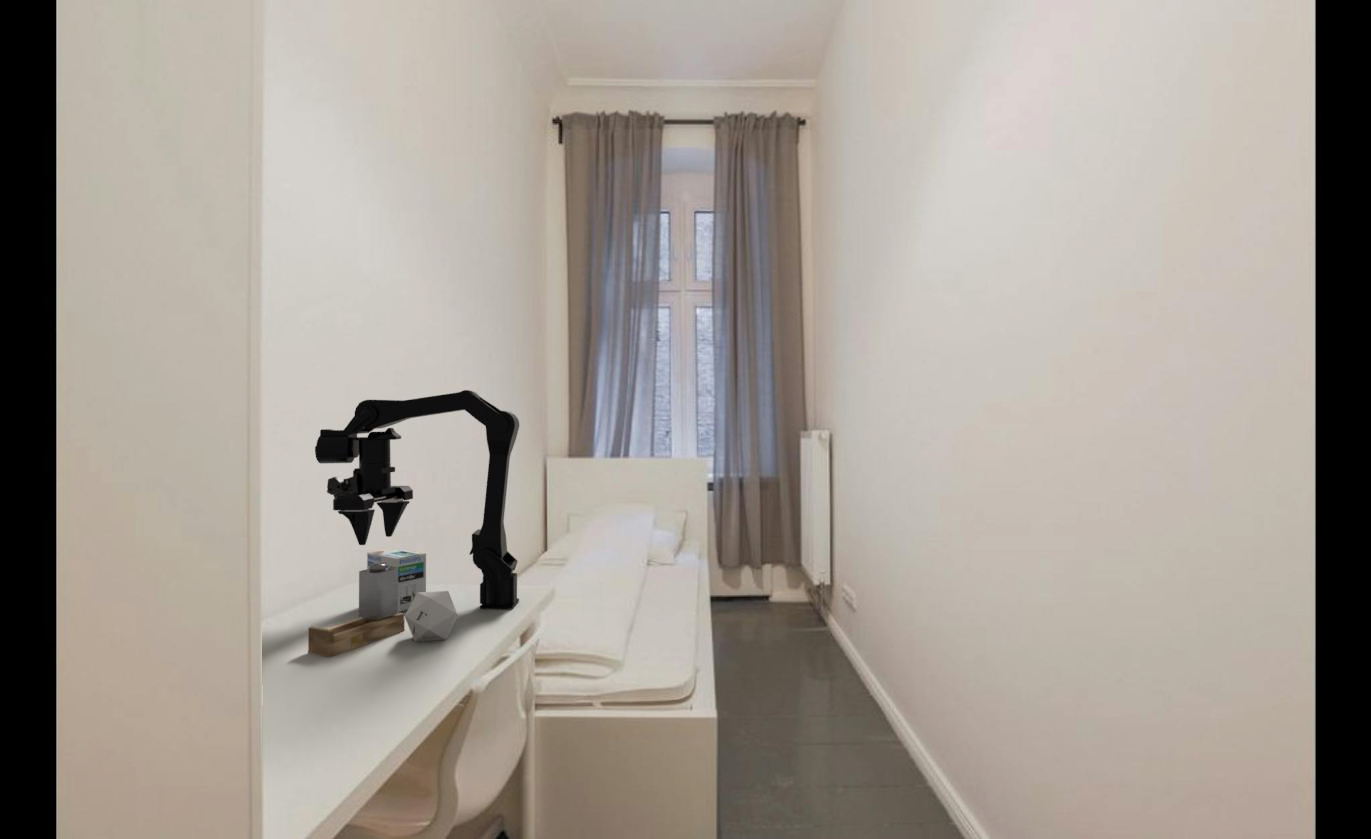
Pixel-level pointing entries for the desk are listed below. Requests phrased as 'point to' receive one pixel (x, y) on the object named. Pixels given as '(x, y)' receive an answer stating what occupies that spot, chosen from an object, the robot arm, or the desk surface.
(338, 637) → the beam
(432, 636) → the die
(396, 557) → the light bulb box
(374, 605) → the square grey bottle
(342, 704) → the desk surface
